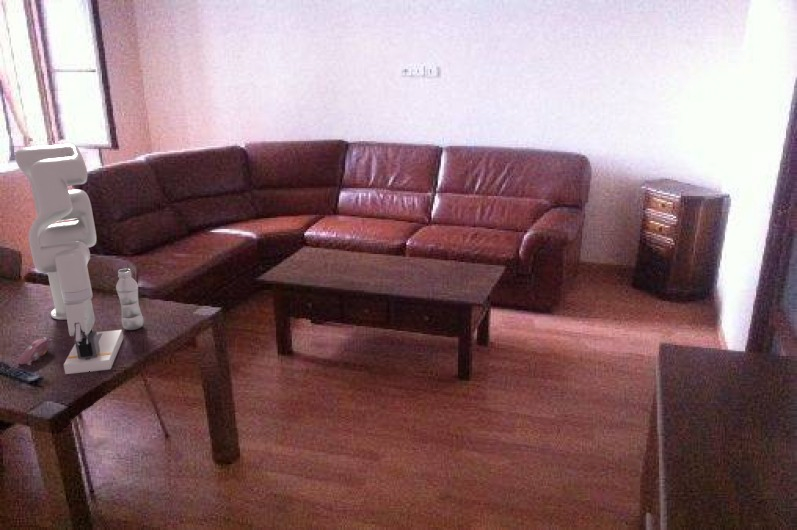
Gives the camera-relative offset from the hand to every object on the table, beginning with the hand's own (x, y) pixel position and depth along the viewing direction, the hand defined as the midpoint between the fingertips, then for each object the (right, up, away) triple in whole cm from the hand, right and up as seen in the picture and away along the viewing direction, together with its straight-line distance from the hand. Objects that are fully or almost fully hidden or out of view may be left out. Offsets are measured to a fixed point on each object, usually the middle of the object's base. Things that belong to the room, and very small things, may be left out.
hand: (88, 351), depth 185 cm
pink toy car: (-18, -3, +6) cm, 19 cm away
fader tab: (0, -1, 0) cm, 1 cm away
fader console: (-1, -2, +7) cm, 7 cm away
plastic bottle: (+3, +4, +24) cm, 25 cm away
